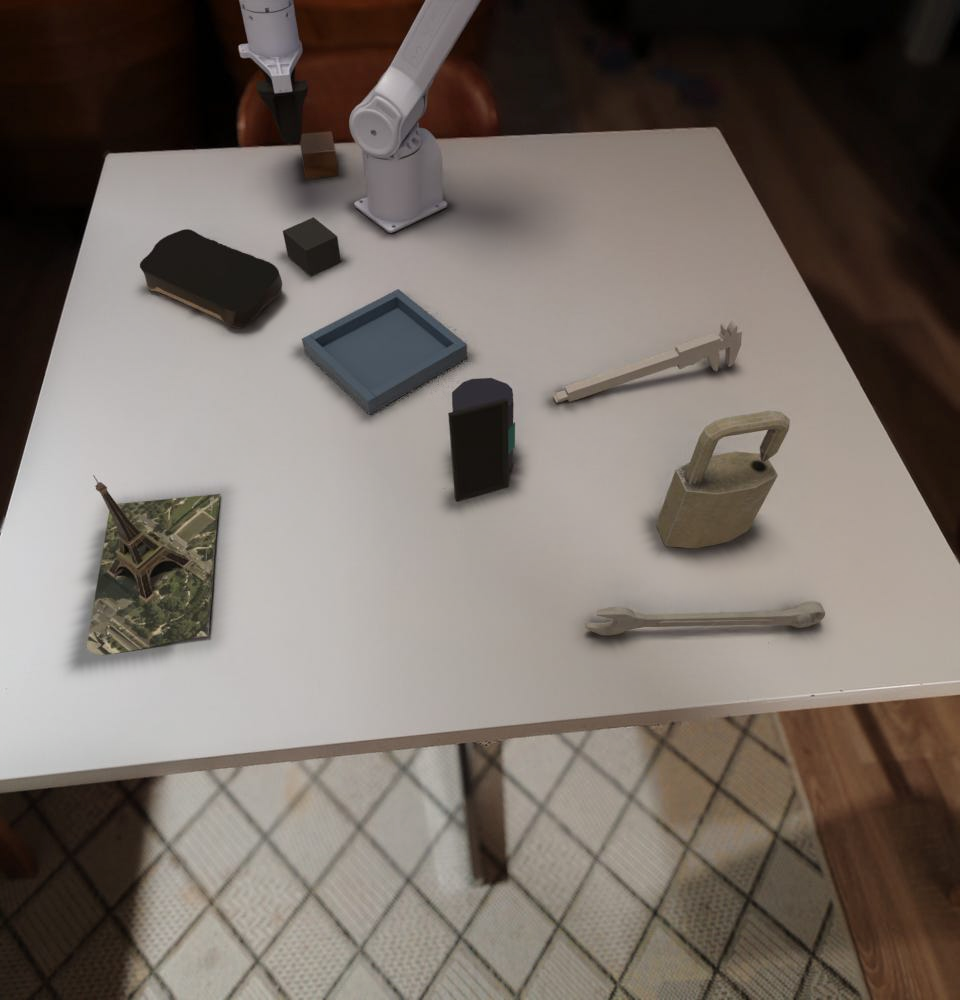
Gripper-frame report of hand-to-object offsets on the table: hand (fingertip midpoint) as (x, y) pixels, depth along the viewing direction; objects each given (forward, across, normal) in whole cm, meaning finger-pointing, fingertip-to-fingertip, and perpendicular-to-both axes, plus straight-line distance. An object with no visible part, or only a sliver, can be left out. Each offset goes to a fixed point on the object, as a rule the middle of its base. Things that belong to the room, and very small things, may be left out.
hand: (289, 124), depth 95 cm
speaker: (+9, +51, +12) cm, 53 cm away
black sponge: (+9, +19, -12) cm, 24 cm away
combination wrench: (+9, +72, +26) cm, 77 cm away
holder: (+9, +34, +6) cm, 35 cm away
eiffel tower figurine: (+9, +56, -18) cm, 60 cm away
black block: (+9, +15, 0) cm, 18 cm away
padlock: (+9, +63, +30) cm, 70 cm away
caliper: (+9, +44, +32) cm, 55 cm away
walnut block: (+9, -5, +3) cm, 10 cm away
